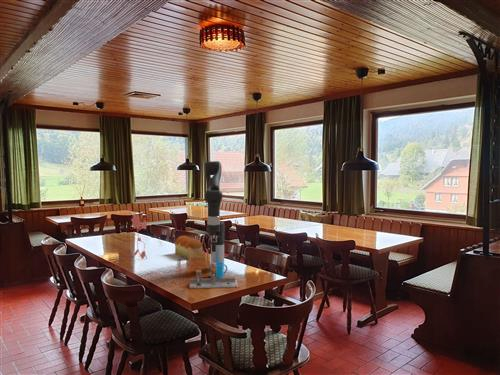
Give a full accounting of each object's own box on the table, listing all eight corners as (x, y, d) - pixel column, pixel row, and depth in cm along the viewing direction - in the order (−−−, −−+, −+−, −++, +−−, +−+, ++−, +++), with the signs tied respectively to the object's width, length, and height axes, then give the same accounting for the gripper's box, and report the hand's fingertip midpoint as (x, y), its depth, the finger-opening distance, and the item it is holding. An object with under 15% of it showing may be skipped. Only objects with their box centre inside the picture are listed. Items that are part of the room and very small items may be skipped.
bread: (202, 257, 297) (202, 239, 297) (188, 260, 290) (188, 240, 289) (188, 252, 318) (188, 234, 317) (174, 254, 311) (174, 236, 310)
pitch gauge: (190, 283, 230) (190, 270, 230) (236, 282, 233) (236, 269, 233) (189, 288, 220) (189, 274, 220) (237, 287, 223) (237, 273, 223)
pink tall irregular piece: (136, 254, 308) (135, 211, 305) (153, 259, 289) (152, 214, 287) (118, 257, 297) (117, 213, 295) (134, 263, 279) (133, 216, 276)
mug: (215, 278, 240) (215, 266, 240) (208, 275, 247) (208, 263, 246) (230, 275, 247) (230, 263, 247) (223, 272, 254) (223, 260, 254)
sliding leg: (211, 279, 232) (211, 262, 231) (216, 279, 232) (216, 262, 231) (211, 283, 224) (211, 266, 223) (216, 282, 224) (216, 265, 223)
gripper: (207, 222, 235) (207, 248, 236) (207, 225, 221) (207, 252, 221) (219, 221, 236) (219, 247, 236) (220, 225, 221) (220, 252, 222)
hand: (213, 250), depth 229 cm, fingers open, 8 cm apart
